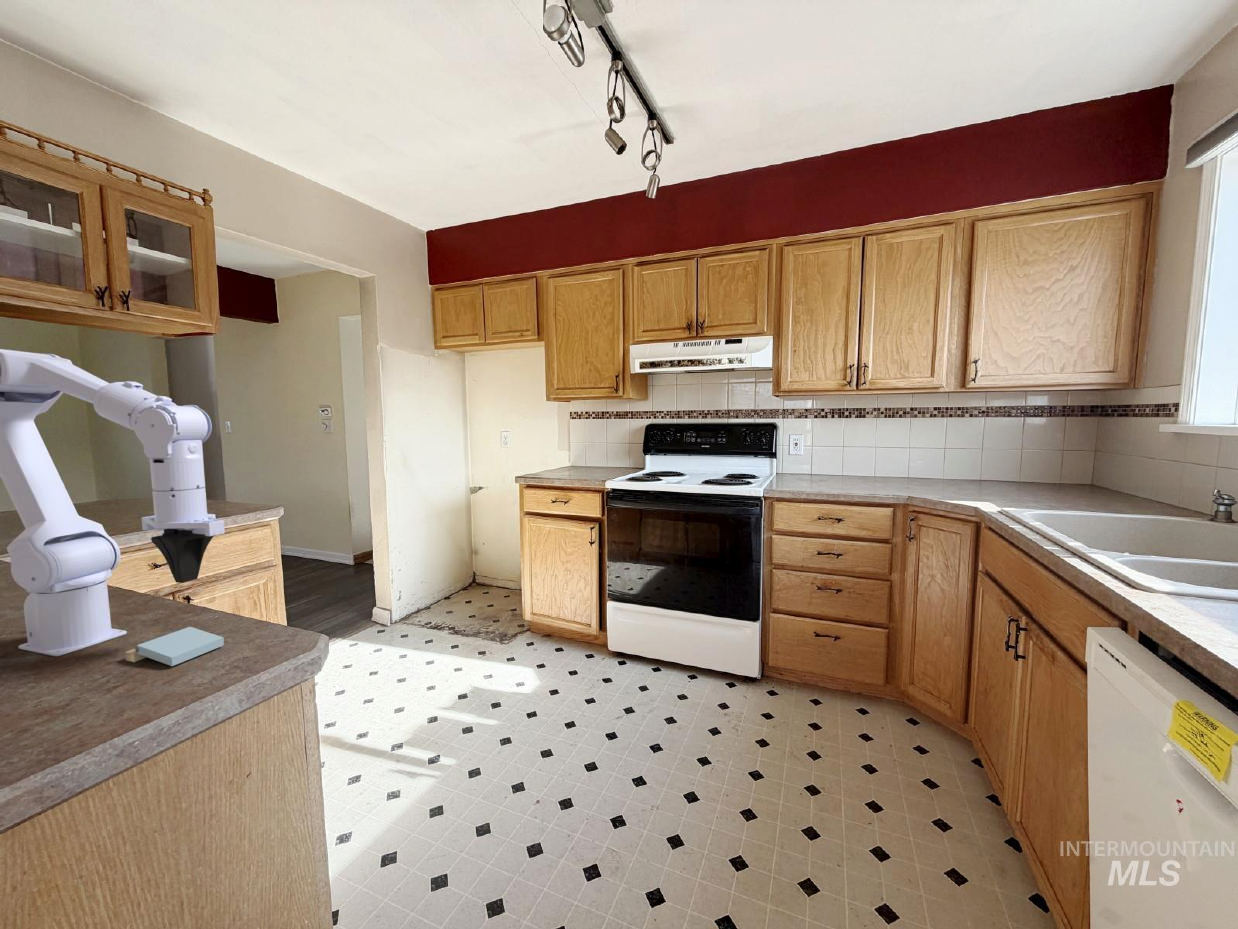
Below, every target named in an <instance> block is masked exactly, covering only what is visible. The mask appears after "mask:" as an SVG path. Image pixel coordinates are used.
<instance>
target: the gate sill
mask: <svg viewBox="0 0 1238 929" xmlns="http://www.w3.org/2000/svg"><path fill="white" fill-rule="evenodd" d="M124 656H125V661H127V662H132V663H136V662H138V661H141V660H143V659H146V658H148V657H145V656H142V655H140V654H137V652H136V651H135V648H133V649H130V650H127V651H125V652H124Z"/></svg>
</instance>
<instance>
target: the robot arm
mask: <svg viewBox="0 0 1238 929" xmlns="http://www.w3.org/2000/svg"><path fill="white" fill-rule="evenodd" d="M72 362H73V361H72V360H70V359H68V358H63V357H61V356H59V355H56V354H53V353H38V352H31V351H30V352H29V351H21V350H12V349H2V348H0V478H1V481H2V482H3V485H4V487H5V489H6V491H7V494H8V496H9V497H10V498H9V499H10V500H11V502H12V504H13V506H14V508H15V510H16V512H17V514H18V516H19V519H20V520H21V523H22V525H23V527H24V528H25V529H24V530H23V531H22V532H21V533H20V534H19V535H18V536H17V537H16V538H14V540H12V541H11V542H10V544H8V546H6V551H7V552H8V555H9V558H10V572H11V577H12V578H13V581H14V582H15V583H16V584H17V585H18V586H20V587H21V588H22V589H25V590H26V593H29V594H28V596H27V597H26V598H25V600H24V603H23V614H24V622H25V631H26V638H27V642H26V643H21V644H20V645H18V649H20V650H24V651H28V652H33V653H38V654H43V655H47V656H52V657H60V656H64V655H66V654H70V653H72V652H75V651H79V650H82V649H84V648H88V647H91V646H94V645H97V644H99V643H103V642H106V641H109V640H112V639H115V638H118V637H121V636H124V635H127V632H128V631H127V630H122V629H118V628H112V623H111V621H112V620H111V611H110V610H111V608H110V602H109V601H110V600H109V590H108V582H107V579H108V578H109V579H110V578H112V577H113V575H112V572H113V571H114V570H115V569H117V567H118V566H119V563H120V561H121V557H122V556H121V549H120V547H119V545H118V544H117V542H116V541H115V540H114V539H113V538H112V537H111V536H110V535H109V534H108V533H107V532H106V530H105V529H104V526H103V524H101V523H99V522H96V521H94V520H91V519H88V518H85V517H83V516H80V515H79V513H78V512H77V509H76V508H75V506H74V503H73V501H72V499H71V497H70V494H69V493H68V490H67V489H66V487H65V484H64V482H63V480H62V479H61V476H60V473H59V471H58V469H57V467H56V465H55V463H54V461H53V459H52V457H51V455H50V453H49V451H48V449H47V446H46V445H45V443H44V440H43V438H42V436H41V433H40V431H39V430H38V427H37V425H36V422H35V419H36V416H38V415H41V414H44V413H46V412H48V410H49V409H51V407H52V406H53V405H54V404H55V403H56V402H57V400H59V398H60V397H61V396H62V395H63V394H66V395H69V396H72V397H74V398H77V399H79V400H82V401H85V402H88V403H90V404H93V409H94V411H95V412H96V414H97V415H98V416H100V417H102V418H104V419H106V420H109V421H111V422H113V423H116V424H117V425H120V426H121V427H125V428H127V429H129V430H132V431H134V433H135V435H136V437H137V438H138V440H139V441H140V442H141V444H142V445H143V446H142V447H143V453H144V455H145V456H146V458H148V459H149V467H150V468H149V469H150V478H151V479H150V480H151V490H152V492H151V493H152V503H153V504H152V505H153V513H154V514H153V515H150V516H143V517H141V526H142V527H141V528H142V531H152V530H155V531H163V533H161V534H160V535H156V536H152V537H151V538H150V540H151V543H153V544H154V545H155V546H156V548H157V549H158V550H159V551H160V553H161V554H162V556H163V557H164V559H165V561H166V563H167V565H168V567H169V569H170V572H171V574H172V577H173V579H174V581H175V583H180V584H185V583H187V582H191V581H195V580H197V579H198V578H199V575H200V574H199V573H200V570H201V565H202V561H203V557H204V555H205V553H206V550H207V548H208V546H209V544H210V542H211V541H212V539H213V538H214V536H218V535H225V521H224V520H223V519H217V518H216V513H215V514H214V513H208V507H207V505H208V504H207V493H206V479H205V478H206V477H205V476H206V475H205V466H204V452H203V451H204V450H203V443H204V442H207V441H208V439H209V437H210V435H211V433H212V431H213V430H212V428H213V426H212V420H211V417H210V416H209V414H208V413H207V412H206V411H205V410H203V409H202V408H200V407H199V406H198V405H196V404H195V405H194V404H188V405H187V404H185V405H177V404H176V403H175V402H172V401H173V399H172V398H170V397H168V396H164V395H156V394H154V393H152V392H149V391H147V390H145V389H143V388H144V385H143V384H142V383H140V382H138V381H130V380H129V381H127V380H125V381H115V382H111V383H109V382H108V381H105V380H103V379H101V378H100V377H98V376H96V375H93V374H92V373H90V372H88V371H86V370H85V369H82V368H80V367H79V366H76V365H75V364H73V363H72Z"/></svg>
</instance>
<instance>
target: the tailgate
mask: <svg viewBox="0 0 1238 929" xmlns="http://www.w3.org/2000/svg"><path fill="white" fill-rule="evenodd" d="M224 639H225V638H224V637H223V636H220V635H217V634H214V633H211V632H208V631H205V630H202V629H198V628H195V627H193V626H188V627H186V628H185V627H184V628H182V629H179V630H177V631H173V632H170V633H167V634H165V635H163V636H158V637H156V638H154V639H150V640H147V641H145V642H142V643H140V644H137V645H136V646H135V648H134V649H135V651H136V652H137V654H140V655H142V656H145V657H147V658H148V659H151V660H154V661H157V662H159V663H162V664H165V665H168V666H170V667H173V666H176V665H179V664H181V663H184V662H186V661H188V660H192V659H194V658H196V657H199V656H202V655H203V654H206V653H208V652H211V651H213V650H216V649H219V648H220V647H223V646H224V645H225V640H224Z"/></svg>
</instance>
